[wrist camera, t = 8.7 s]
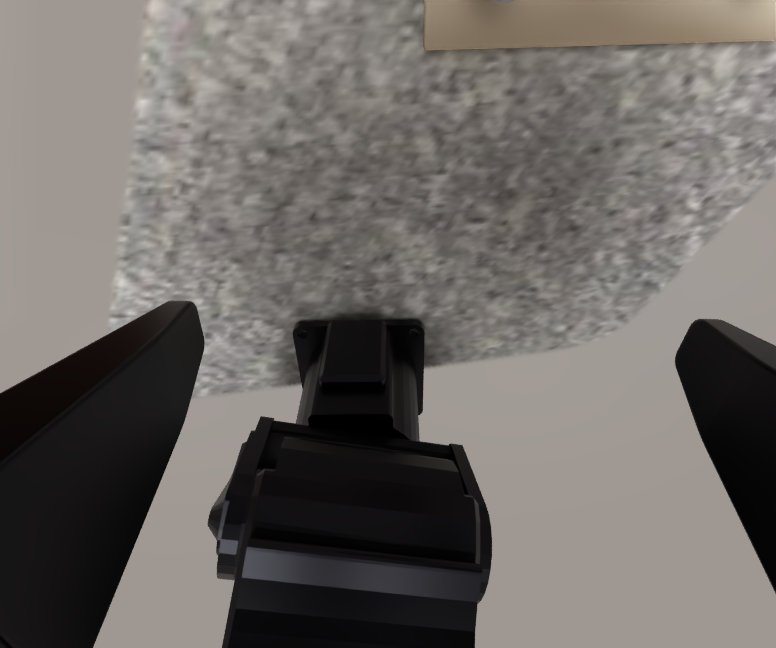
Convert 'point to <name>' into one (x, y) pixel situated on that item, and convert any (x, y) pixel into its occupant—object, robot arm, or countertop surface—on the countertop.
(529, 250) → the countertop surface
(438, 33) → the pin board
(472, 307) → the countertop surface
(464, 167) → the countertop surface
